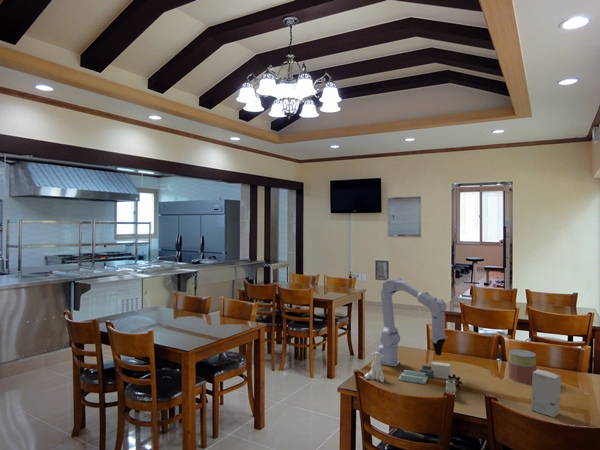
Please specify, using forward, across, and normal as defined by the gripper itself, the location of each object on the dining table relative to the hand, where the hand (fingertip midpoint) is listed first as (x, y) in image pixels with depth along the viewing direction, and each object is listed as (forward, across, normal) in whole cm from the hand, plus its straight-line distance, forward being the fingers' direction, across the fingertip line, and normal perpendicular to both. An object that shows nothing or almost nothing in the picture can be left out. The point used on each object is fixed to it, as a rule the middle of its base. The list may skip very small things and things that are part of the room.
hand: (438, 354), depth 193 cm
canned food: (+10, +17, -33) cm, 39 cm away
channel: (+10, 0, +5) cm, 11 cm away
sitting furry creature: (+10, -18, +24) cm, 32 cm away
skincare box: (+10, -16, -44) cm, 48 cm away
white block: (+10, 0, -1) cm, 10 cm away
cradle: (+10, -10, +9) cm, 17 cm away
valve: (+10, -18, -10) cm, 23 cm away
